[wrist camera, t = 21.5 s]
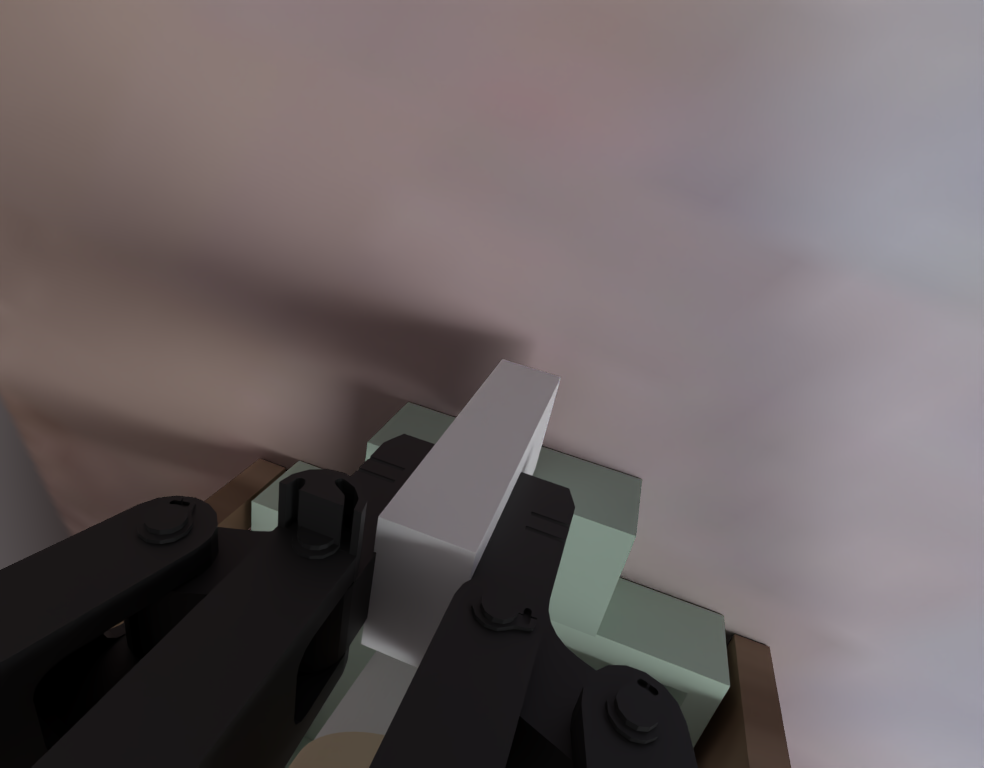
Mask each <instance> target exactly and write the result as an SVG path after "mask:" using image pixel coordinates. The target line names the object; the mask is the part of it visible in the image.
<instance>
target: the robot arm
mask: <svg viewBox="0 0 984 768" xmlns="http://www.w3.org/2000/svg"><path fill="white" fill-rule="evenodd" d="M560 379H561V377H560V376H557V375H554V374H550V373H547V372H544V371H541V370H537V369H534V368H531V367H528V366H524V365H521V364H518V363H515V362H511V361H508V360H505V359H502V360H501V361H500V362H499V364H498V365H497V366H496V368H495V369H494V370H493V371H492V373H491V374H490V375H489V376H488V378H487V379H486V380H485V382H484V383H483V384H482V385H481V387H480V388H479V389H478V390H477V392H476V393H475V394H474V396H473V397H472V398H471V399H470V401H469V402H468V403H467V404H466V406H465V407H464V408H463V410H462V411H461V412H460V413H459V415H458V416H457V417H456V418H455V420H454V421H453V422H452V424H451V425H450V426H449V427H448V429H447V430H446V431H445V432H444V434H443V435H442V436H441V438H440V439H439V440H438V441H437V443H436V444H433V443H430V442H427V441H424V440H421V439H418V438H416V437H413V436H410V435H407V434H402V435H400V436H397V437H395V438H393V439H390V440H388V441H386V442H383V443H382V445H381V446H380V447H379V448H378V449H377V450H376V451H375V452H374V453H373V454H372V455H371V456H370V459H367V460H366V461H365V462H364V463H363V464H362V465H361V466H360V467H359V470H358V471H356V472H355V473H354V474H353V475H352V476H349V475H347V474H345V473H342V472H338V471H333V470H329V469H309V470H305V471H302V472H298V473H294V474H291V475H290V476H288V477H286V478H285V479H283V480H281V481H280V482H279V500H278V526H277V527H276V528H275V529H274V530H273V531H251V530H242V529H233V528H224V527H218V522H217V513H216V512H215V510H214V509H213V508H212V507H211V506H210V505H209V504H208V503H206V502H204V501H201V500H199V499H197V498H193V497H185V496H170V497H162V498H156V499H153V500H150V501H147V502H144V503H142V504H139V505H137V506H134V507H132V508H130V509H128V510H126V511H124V512H122V513H120V514H118V515H115V516H113V517H111V518H109V519H107V520H105V521H103V522H101V523H99V524H96V525H94V526H92V527H90V528H88V529H86V530H84V531H82V532H80V533H77V534H75V535H73V536H71V537H69V538H67V539H65V540H63V541H61V542H58V543H56V544H54V545H52V546H50V547H48V548H46V549H44V550H42V551H39V552H37V553H35V554H33V555H31V556H29V557H27V558H25V559H23V560H21V561H18V562H16V563H14V564H12V565H10V566H8V567H6V568H4V569H1V570H0V768H285V766H286V765H287V763H288V761H289V760H290V758H291V757H292V755H293V753H294V752H295V750H296V749H297V747H298V745H299V744H300V742H301V740H302V739H303V737H304V736H305V734H306V732H307V731H308V729H309V728H310V726H311V724H312V723H313V721H314V719H315V718H316V716H317V715H318V713H319V711H320V710H321V708H322V707H323V705H324V703H325V702H326V700H327V698H328V697H329V695H330V694H331V692H332V690H333V689H334V687H335V686H336V684H337V682H338V681H339V679H340V677H341V676H342V674H343V672H344V669H345V667H346V664H347V661H348V655H349V647H350V644H351V643H352V641H353V640H354V638H355V637H356V635H357V633H358V632H359V630H360V629H361V627H362V626H363V624H364V627H363V634H362V642H361V644H362V645H365V646H367V647H369V648H372V649H374V650H376V651H379V652H381V653H384V654H386V655H388V656H391V657H393V658H395V659H398V660H400V661H403V662H405V663H407V664H410V665H412V666H414V667H417V668H418V669H417V671H416V673H415V675H414V677H413V679H412V681H411V683H410V685H409V687H408V689H407V691H406V693H405V695H404V697H403V699H402V701H401V703H400V705H399V707H398V709H397V712H396V714H395V716H394V718H393V720H392V722H391V724H390V726H389V728H388V730H387V732H386V734H385V736H384V738H383V740H382V742H381V744H380V746H379V748H378V750H377V752H376V754H375V756H374V758H373V760H372V762H371V764H370V766H369V768H698V765H697V761H696V757H695V753H694V749H693V746H692V742H691V738H690V734H689V730H688V726H687V722H686V720H685V718H684V715H683V713H682V711H681V709H680V706H679V704H678V702H677V701H676V700H675V699H674V697H673V696H672V695H671V694H670V693H669V691H668V690H667V689H666V688H665V686H664V685H663V684H661V683H660V682H658V681H657V680H656V679H654V678H653V677H651V676H650V675H649V674H647V673H646V672H643V671H641V670H638V669H635V668H632V667H629V666H627V665H607V666H605V667H603V668H601V669H598V670H595V669H593V668H592V667H591V666H589V665H588V664H587V663H585V662H584V661H583V660H581V659H580V658H579V657H577V656H576V655H575V654H574V653H573V652H572V651H571V650H569V649H568V648H567V647H566V646H565V645H564V643H563V642H562V641H561V639H560V638H559V637H558V636H557V634H556V632H555V630H554V628H553V626H552V623H551V620H550V615H549V603H550V598H551V594H552V590H553V587H554V583H555V579H556V576H557V572H558V568H559V565H560V561H561V558H562V554H563V550H564V547H565V543H566V539H567V536H568V532H569V528H570V525H571V521H572V518H573V514H574V510H575V505H574V501H573V498H572V495H571V492H570V489H569V488H567V487H564V486H561V485H558V484H555V483H552V482H549V481H546V480H543V479H540V478H538V477H535V476H532V475H533V473H534V470H535V468H536V464H537V461H538V457H539V454H540V450H541V446H542V443H543V439H544V436H545V432H546V429H547V425H548V422H549V418H550V414H551V411H552V407H553V404H554V400H555V397H556V393H557V390H558V386H559V382H560ZM122 621H124V623H122V624H121V625H119V626H116V625H117V624H119V623H121V622H122ZM114 626H116V627H114ZM113 627H114V628H113ZM111 628H112V629H111Z"/></svg>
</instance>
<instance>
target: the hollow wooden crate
mask: <svg viewBox="0 0 984 768" xmlns="http://www.w3.org/2000/svg"><path fill="white" fill-rule="evenodd" d="M284 473H285V468H284V467H281V466H279V465H276V464H273V463H271V462H268V461H265V460H263V459H259V460H257V461H256V462H255V463H253V464H252V465H251V466H249V467H248V468H247V469H246V470H244V471H243V472H242V473H240V474H239V475H238V476H237V477H235V478H234V479H233V480H231V481H230V482H229V483H227V484H226V485H225V486H224V487H222V488H221V489H220V490H218V491H217V492H216V493H215V494H213V495H212V496H211V497H209V498H208V499H207V500H205V501H204V502H206V503H208V504H209V505H210V506H211V507H212V508H213V509H214V510H215V512H216V513H217V522H218V527H224V528H233V529H242V530H248V529H249V528H250V527H251V511H252V500H254V499H255V498H256V497H257V496H258V495H259V494H261V493H262V492H263V491H264V490H265V489H266V488H268V487H269V486H270V485H271V484H272V483H273V482H275V481H276V480H277V479H278V478H279V477H280V476H282V475H283V474H284ZM122 623H124V621H122V622H121V623H119V624H117V625H116V626H119V625H121V624H122ZM116 626H114V627H116ZM114 627H113V628H114ZM111 629H112V628H111ZM727 658H728V668H729V679H730V687H729V689H728V691H727V692H726V694H725V696H724V697H723V699H722V701H721V702H720V704H719V706H718V708H717V709H716V711H715V713H714V714H713V716H712V718H711V719H710V721H709V723H708V724H707V726H706V728H705V729H704V731H703V733H702V734H701V736H700V738H699V739H698V741H697V743H696V744H695V746H694V748H693V749H694V753H695V757H696V761H697V765H698V768H791V765H790V759H789V754H788V748H787V742H786V737H785V731H784V726H783V720H782V714H781V709H780V703H779V698H778V692H777V686H776V681H775V675H774V670H773V664H772V658H771V653H770V647H768V646H765V645H763V644H760V643H757V642H755V641H752V640H749V639H746V638H744V637H741V636H738V635H736V634H734V636H733V637H732V639H731V641H730V643H729V644H728V646H727Z"/></svg>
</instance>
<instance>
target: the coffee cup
mask: <svg viewBox="0 0 984 768" xmlns="http://www.w3.org/2000/svg"><path fill="white" fill-rule="evenodd" d="M417 669H418V668H417V667H414V666H412V665H410V664H407V663H405V662H403V661H400V660H398V659H395V658H393V657H391V656H388V655H386V654H384V653H381V652H379V651H376V652H375V653H374V655H373V656H372V658H371V659H370V660H369V662H368V663H367V665H366V666H365V668H364V669H363V670H362V672H361V673H360V675H359V676H358V678H357V679H356V680H355V682H354V683H353V685H352V686H351V688H350V689H349V690H348V692H347V693H346V695H345V696H344V697H343V699H342V700H341V702H340V703H339V705H338V706H337V707H336V709H335V710H334V712H333V713H332V715H331V716H330V717H329V719H328V720H327V722H326V723H325V725H324V726H323V727H322V729H321V730H320V732H319V733H318V735H317V736H316V737H315V739H314V740H313V741H311V742H310V743H308V744H307V745H306V746H305V747H304V748H303V749H302V750H301V751H300V752H299V753H298V755H297V756H296V758H295V759H294V760H293V762H292V763H291V764H290V766H289V767H288V768H369V766H370V764H371V762H372V760H373V758H374V756H375V754H376V752H377V750H378V748H379V746H380V744H381V742H382V740H383V738H384V736H385V734H386V732H387V730H388V728H389V726H390V724H391V722H392V720H393V718H394V716H395V714H396V712H397V709H398V707H399V705H400V703H401V701H402V699H403V697H404V695H405V693H406V691H407V689H408V687H409V685H410V683H411V681H412V679H413V677H414V675H415V673H416V671H417Z"/></svg>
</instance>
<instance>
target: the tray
mask: <svg viewBox="0 0 984 768" xmlns="http://www.w3.org/2000/svg"><path fill="white" fill-rule="evenodd" d="M454 420H455V417H452V416H449V415H446V414H443V413H440V412H437V411H434V410H431V409H428V408H425V407H422V406H419V405H416V404H413V403H410V402H408V403H407V404H406V405H405V406H404V407H403V408H401V409H400V410H399V411H398V412H397V413H396V414H395V415H394V416H393V417H392V418H391V419H390V420H389V421H388V422H387V423H386V424H385V425H384V426H383V427H382V428H381V429H380V430H379V431H378V432H377V433H376V434H375V435H374V436H373V437H372V438H371V439H370V440H369V441H368V442H367V451H366V459H365V461H366V460H367V459H370V456H371V455H372V454H373V453H374V452H375V451H376V450H377V449H378V448H379V447H380V446H381V445H382V443H383V442H386V441H388V440H390V439H393V438H395V437H397V436H400V435H402V434H407V435H410V436H413V437H416V438H418V439H421V440H424V441H427V442H430V443H433V444H436V443H437V441H438V440H439V439H440V438H441V436H442V435H443V434H444V432H445V431H446V430H447V429H448V427H449V426H450V425H451V424H452V422H453V421H454ZM309 469H321V468H318V467H315V466H313V465H310V464H307V463H304V462H302V461H298V462H297V463H296V464H294V465H293V466H292V467H291V468H290V469H289V470H287V471H286V472H285V473H284V474H283V475H282V476H280V477H279V478H278V479H277V480H276V481H275V482H273V483H272V484H271V485H270V486H269V487H268V488H266V489H265V490H264V491H263V492H262V493H261V494H259V495H258V496H257V497H256V498H255V499H254V500H252V511H251V531H273V530H274V529H275V528H276V527H277V526H278V500H279V482H280V481H281V480H283V479H285V478H286V477H288V476H290V475H291V474H294V473H298V472H302V471H305V470H309ZM532 476H535V477H538V478H540V479H543V480H546V481H549V482H552V483H555V484H558V485H561V486H564V487H567V488H569V489H570V492H571V495H572V498H573V501H574V505H575V510H574V514H573V518H572V521H571V525H570V528H569V532H568V536H567V539H566V543H565V547H564V550H563V554H562V558H561V561H560V565H559V568H558V572H557V576H556V579H555V583H554V587H553V590H552V594H551V598H550V603H549V615H550V620H551V623H552V626H553V628H554V630H555V632H556V634H557V636H558V637H559V638H560V639H561V641H562V642H563V643H564V645H565V646H566V647H567V648H568V649H569V650H571V651H572V652H573V653H574V654H575V655H576V656H577V657H579V658H580V659H581V660H583V661H584V662H585V663H587V664H588V665H589V666H591V667H592V668H593V669H595V670H598V669H601V668H603V667H605V666H607V665H627V666H629V667H632V668H635V669H638V670H641V671H643V672H646V673H647V674H649V675H650V676H651V677H653V678H654V679H656V680H657V681H658V682H660V683H661V684H663V685H664V686H665V688H666V689H667V690H668V691H669V693H670V694H671V695H672V696H673V697H674V699H675V700H676V701H677V702H678V704H679V706H680V709H681V711H682V713H683V715H684V718H685V720H686V722H687V726H688V730H689V734H690V738H691V742H692V746H693V748H694V746H695V744H696V743H697V741H698V739H699V738H700V736H701V734H702V733H703V731H704V729H705V728H706V726H707V724H708V723H709V721H710V719H711V718H712V716H713V714H714V713H715V711H716V709H717V708H718V706H719V704H720V702H721V701H722V699H723V697H724V696H725V694H726V692H727V691H728V689H729V687H730V679H729V668H728V658H727V647H726V636H725V626H724V616H723V615H720V614H718V613H715V612H712V611H709V610H707V609H704V608H701V607H698V606H696V605H693V604H690V603H687V602H685V601H682V600H679V599H677V598H674V597H671V596H668V595H666V594H663V593H660V592H657V591H655V590H652V589H649V588H646V587H644V586H641V585H638V584H635V583H633V582H630V581H627V580H625V579H622V578H619V577H620V575H621V572H622V570H623V567H624V565H625V562H626V560H627V557H628V555H629V552H630V550H631V547H632V545H633V542H634V540H635V538H636V532H637V522H638V513H639V503H640V494H641V484H642V479H639V478H636V477H633V476H630V475H627V474H624V473H621V472H618V471H615V470H612V469H609V468H606V467H603V466H600V465H597V464H594V463H591V462H588V461H585V460H582V459H579V458H576V457H573V456H570V455H566V454H563V453H560V452H557V451H554V450H551V449H548V448H545V447H542V446H541V450H540V454H539V457H538V461H537V464H536V468H535V470H534V473H533V475H532ZM363 627H364V624H363V626H362V627H361V629H360V630H359V632H358V633H357V635H356V637H355V638H354V640H353V641H352V643H351V644H350V647H349V655H348V661H347V664H346V667H345V669H344V672H343V674H342V676H341V677H340V679H339V681H338V682H337V684H336V686H335V687H334V689H333V690H332V692H331V694H330V695H329V697H328V698H327V700H326V702H325V703H324V705H323V707H322V708H321V710H320V711H319V713H318V715H317V716H316V718H315V719H314V721H313V723H312V724H311V726H310V728H309V729H308V731H307V732H306V734H305V736H304V737H303V739H302V740H301V742H300V744H299V745H298V747H297V749H296V750H295V752H294V753H293V755H292V757H291V758H290V760H289V761H288V763H287V765H286V766H285V768H288V767H289V766H290V764H291V763H292V762H293V760H294V759H295V758H296V756H297V755H298V753H299V752H300V751H301V750H302V749H303V748H304V747H305V746H306V745H307V744H308V743H310V742H311V741H313V740H314V739H315V737H316V736H317V735H318V733H319V732H320V730H321V729H322V727H323V726H324V725H325V723H326V722H327V720H328V719H329V717H330V716H331V715H332V713H333V712H334V710H335V709H336V707H337V706H338V705H339V703H340V702H341V700H342V699H343V697H344V696H345V695H346V693H347V692H348V690H349V689H350V688H351V686H352V685H353V683H354V682H355V680H356V679H357V678H358V676H359V675H360V673H361V672H362V670H363V669H364V668H365V666H366V665H367V663H368V662H369V660H370V659H371V658H372V656H373V655H374V653H375V652H376V650H374V649H372V648H369V647H367V646H365V645H362V644H361V642H362V634H363Z"/></svg>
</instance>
